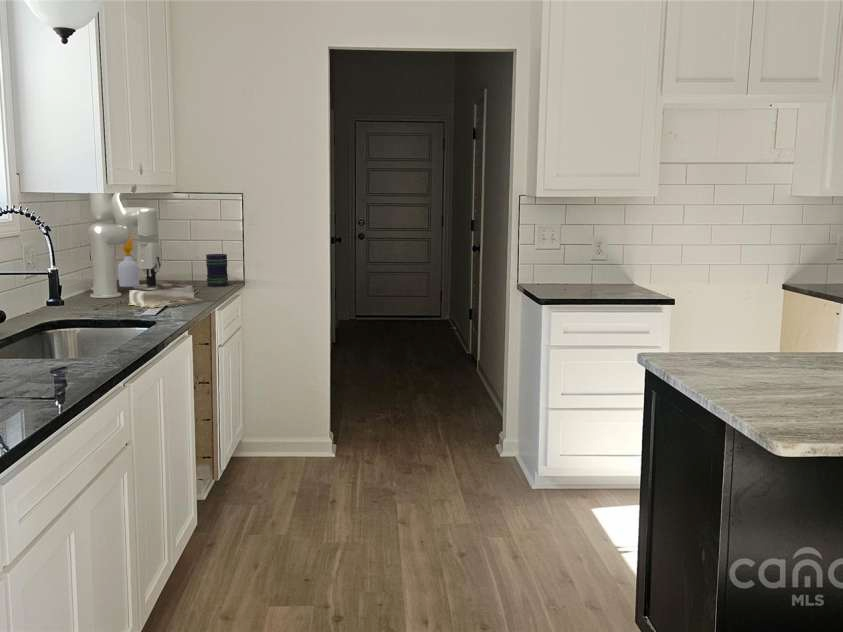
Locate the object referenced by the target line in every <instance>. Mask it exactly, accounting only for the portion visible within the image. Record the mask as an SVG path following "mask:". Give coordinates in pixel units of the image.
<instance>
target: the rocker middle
mask: <svg viewBox="0 0 843 632" xmlns="http://www.w3.org/2000/svg"><path fill="white" fill-rule="evenodd" d="M168 283H169V282H166V281H163V280H159V279H158V280H156V288H157V287H159V288H162V289H170V288H173V286H174V285H172V284H168Z"/></svg>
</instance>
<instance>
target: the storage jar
mask: <svg viewBox="0 0 843 632" xmlns="http://www.w3.org/2000/svg"><path fill="white" fill-rule="evenodd" d="M205 257H206V259H205V263H206V269H207V270H206V273H207V275H206V283H207V287H209V288H223V287H224V288H225V287H228V286H229V284H228V283H229V274H228V266H229V265H228V254H226V253H209V254H205Z"/></svg>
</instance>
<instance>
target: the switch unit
mask: <svg viewBox="0 0 843 632" xmlns="http://www.w3.org/2000/svg"><path fill="white" fill-rule="evenodd" d="M128 292H129V294H128V295H129V302H128V306H129V305H135V306H141V307H140V308H142V307H146V308H145V309H148V308H147V307H152V306H154V305H158V304H157V303H158V302H163V301H169V302H168V303H167V304H166V305H167V306H168V307H173V306H183V304H184V305H189V304H197V303H198V302H199V303H203V302H204V299H202V298H201V299H200V298H195V291H194V286H191V285H183V284H178V285H173V288H170V289H162V288H159V287H157V286H156V288H149V289H139V288H138V289H133V290H128ZM135 306H134V307H135Z"/></svg>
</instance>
